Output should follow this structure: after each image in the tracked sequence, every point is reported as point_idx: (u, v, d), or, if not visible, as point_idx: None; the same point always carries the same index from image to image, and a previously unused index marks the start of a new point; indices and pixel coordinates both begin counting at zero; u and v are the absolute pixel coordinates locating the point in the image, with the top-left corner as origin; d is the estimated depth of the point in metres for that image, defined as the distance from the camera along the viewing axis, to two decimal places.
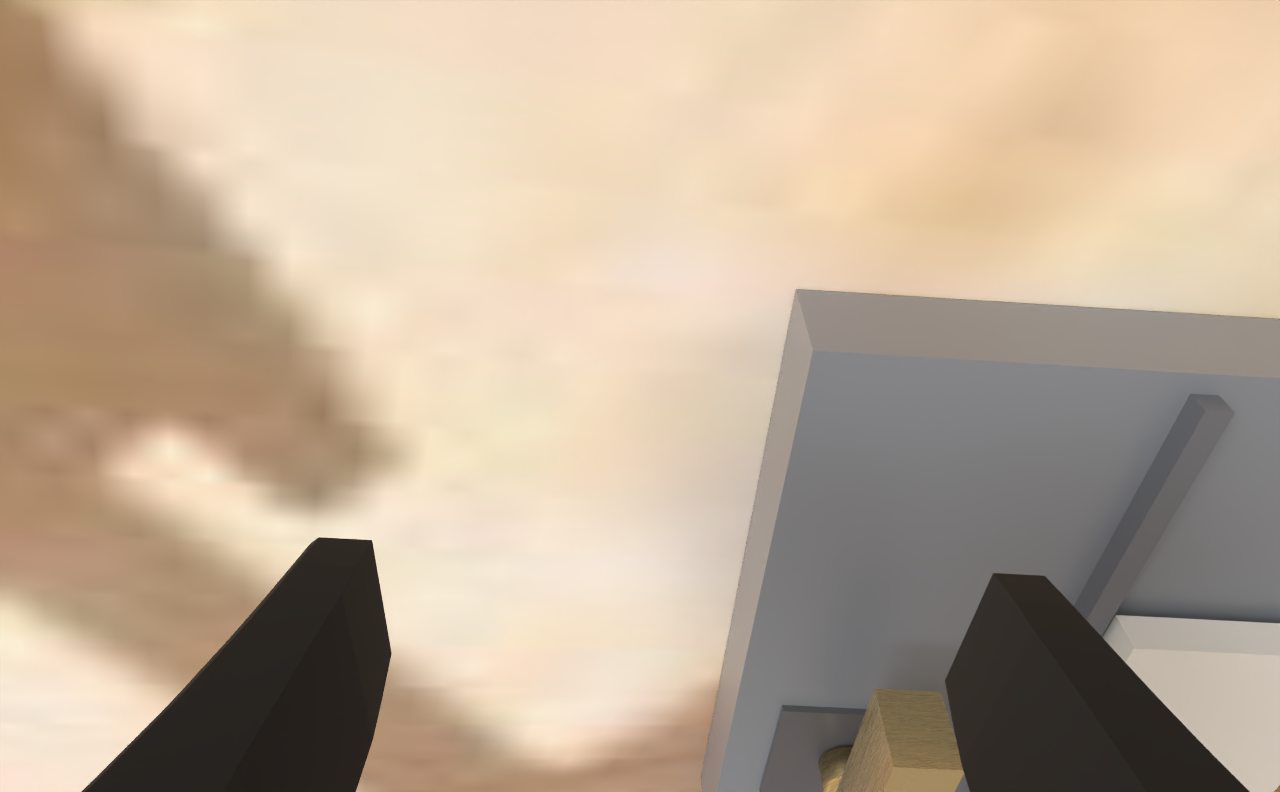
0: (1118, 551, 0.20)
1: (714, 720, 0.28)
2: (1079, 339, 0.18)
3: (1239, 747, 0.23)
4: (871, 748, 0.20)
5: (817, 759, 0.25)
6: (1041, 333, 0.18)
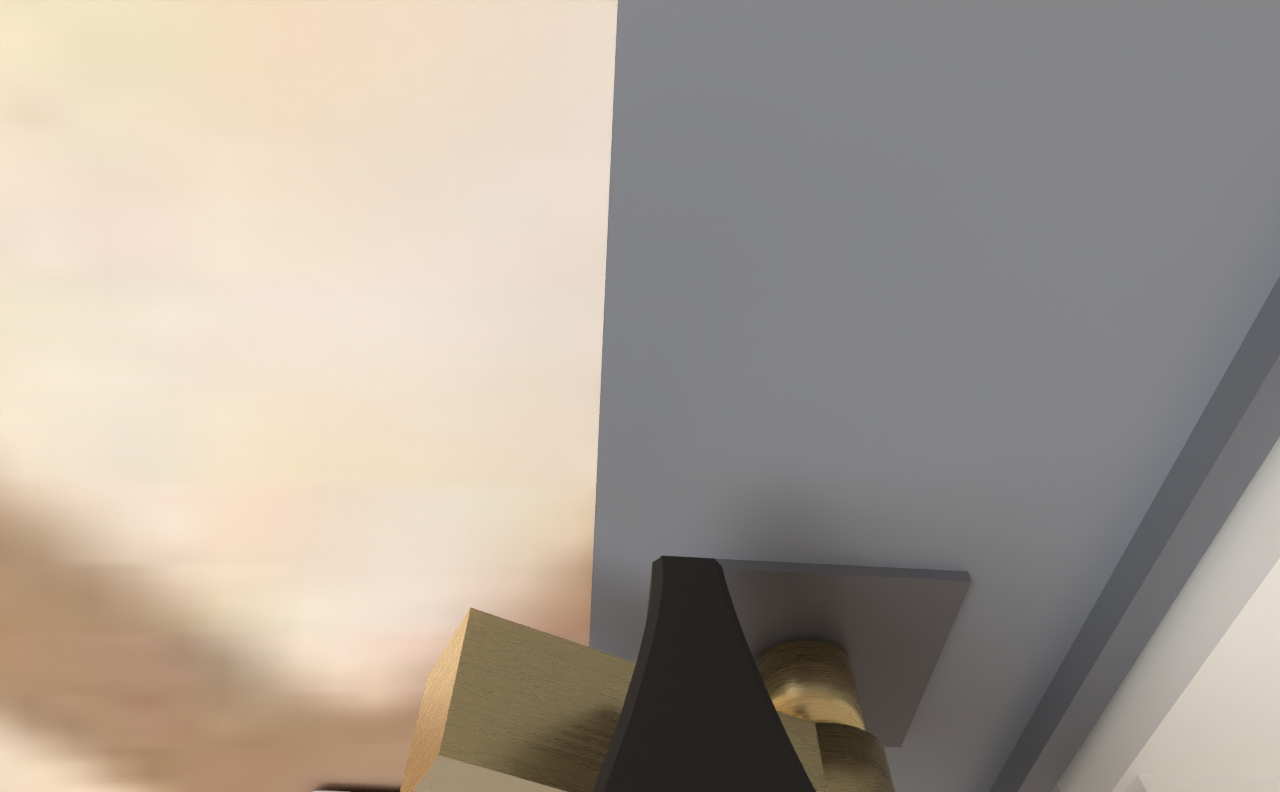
0: None
1: None
2: None
3: None
4: None
5: None
6: None
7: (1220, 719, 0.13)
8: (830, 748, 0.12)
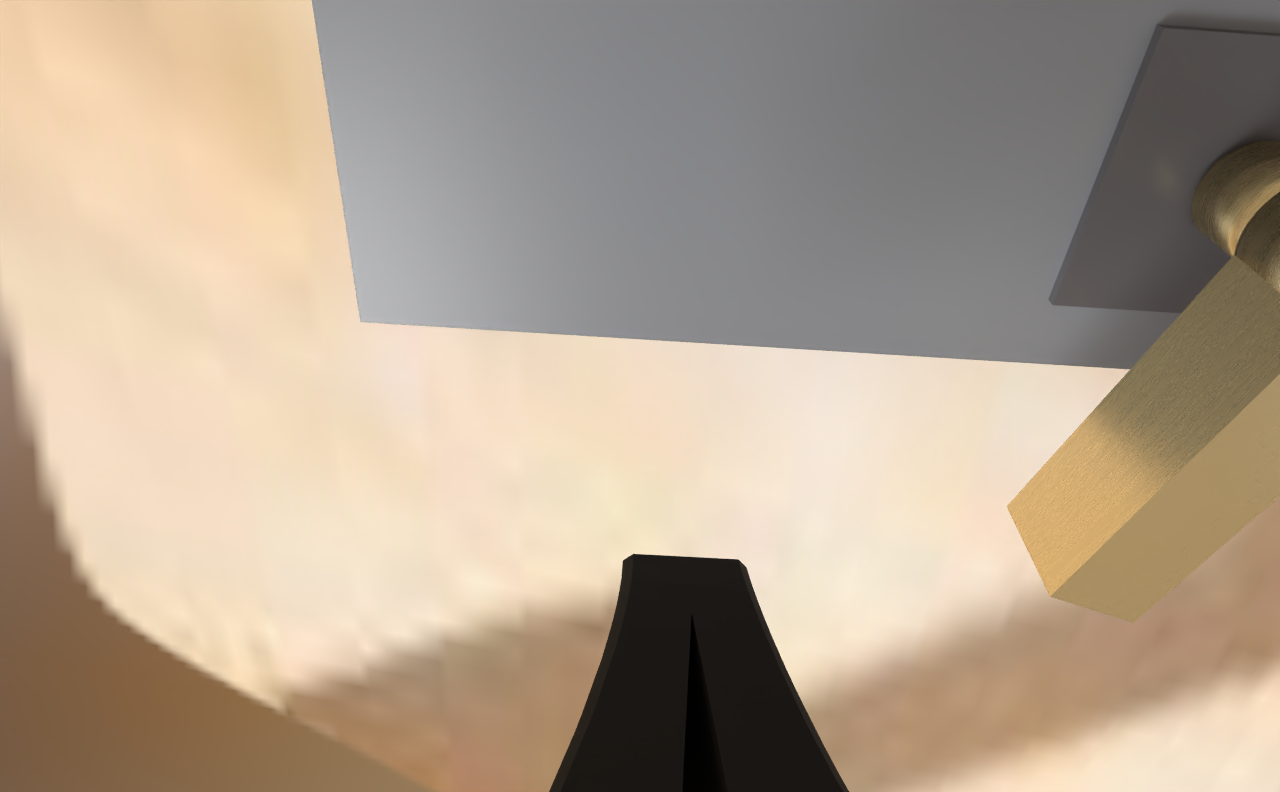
0: None
1: None
2: None
3: None
4: None
5: None
6: None
7: None
8: (1254, 256, 0.11)
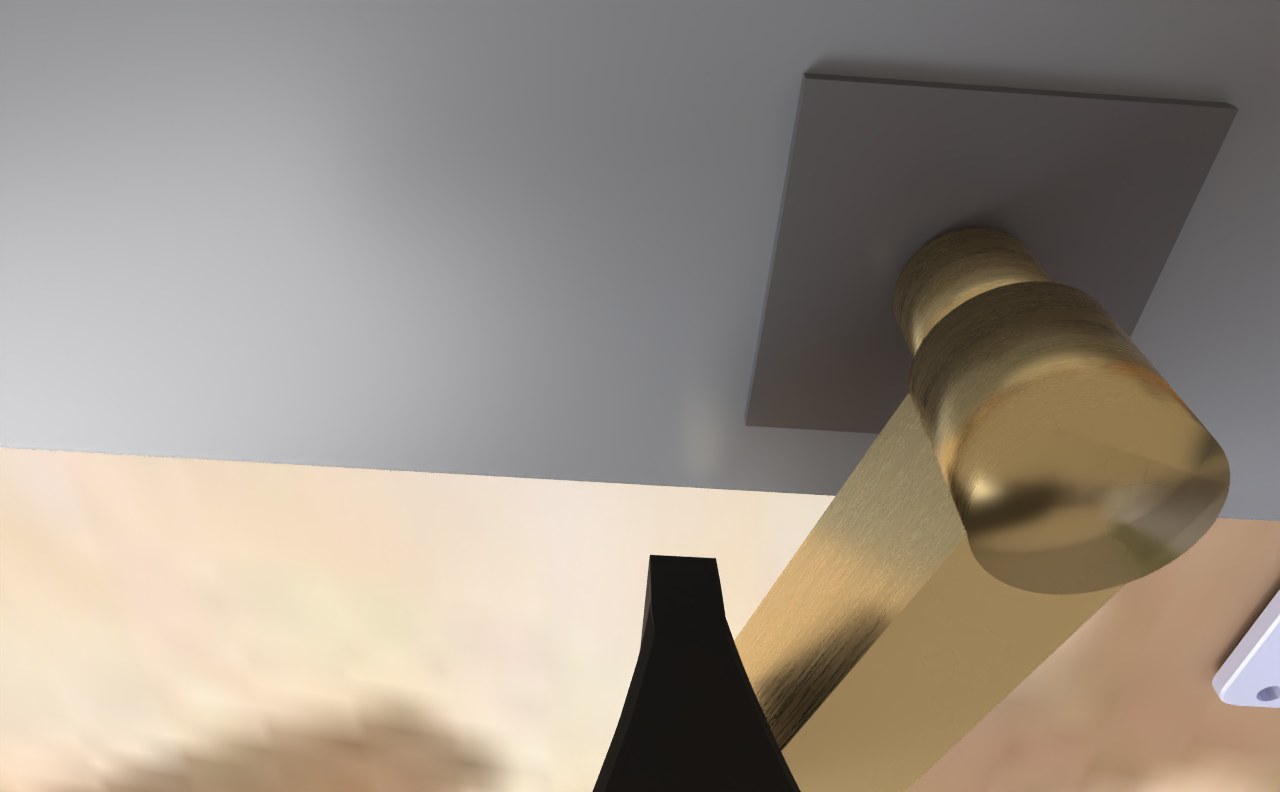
0: None
1: None
2: None
3: None
4: None
5: None
6: None
7: None
8: (920, 402, 0.08)
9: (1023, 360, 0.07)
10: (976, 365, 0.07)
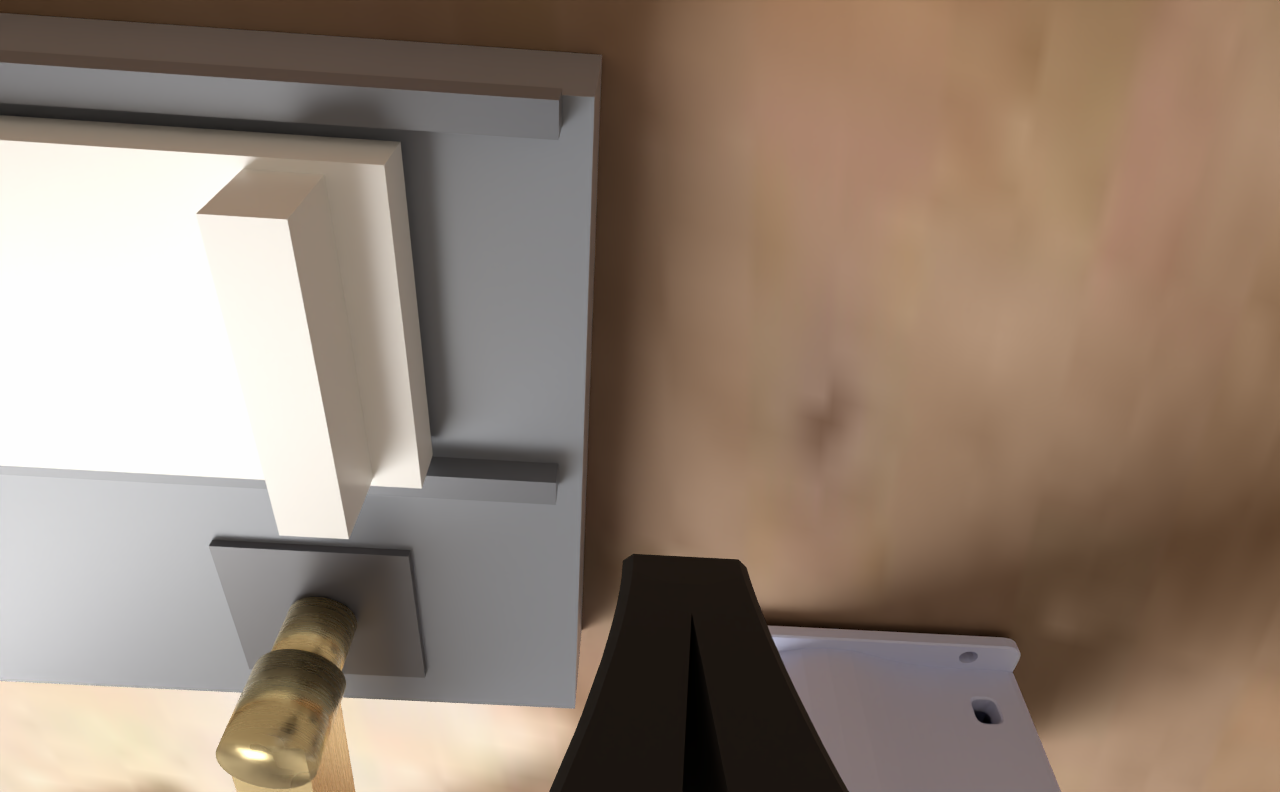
0: None
1: None
2: None
3: (5, 260, 0.14)
4: None
5: None
6: None
7: (219, 443, 0.16)
8: None
9: (239, 703, 0.18)
10: (238, 701, 0.18)
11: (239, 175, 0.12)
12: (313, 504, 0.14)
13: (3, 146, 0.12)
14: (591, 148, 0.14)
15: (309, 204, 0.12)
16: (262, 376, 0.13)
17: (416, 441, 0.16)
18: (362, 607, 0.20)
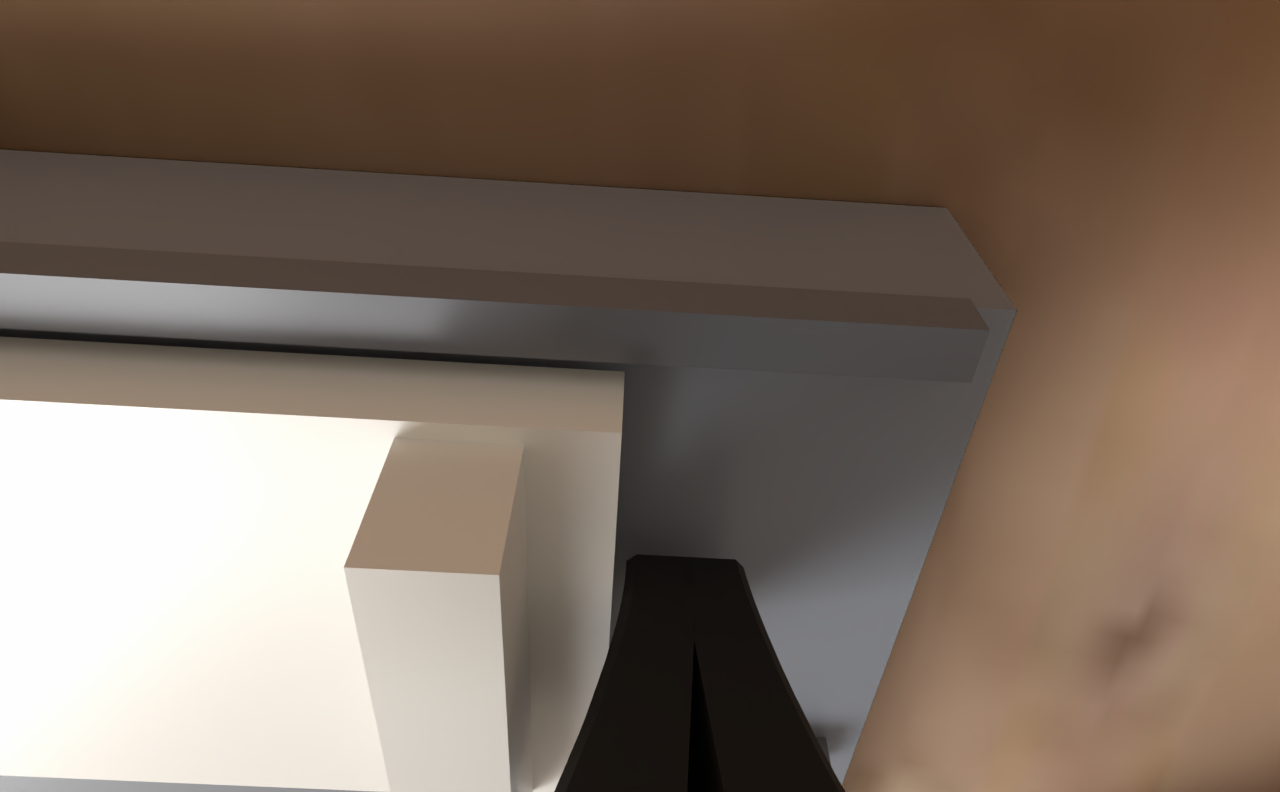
0: None
1: None
2: None
3: (16, 550, 0.09)
4: None
5: None
6: None
7: (319, 754, 0.11)
8: None
9: None
10: None
11: (393, 455, 0.08)
12: None
13: (12, 409, 0.08)
14: (989, 376, 0.09)
15: (513, 512, 0.07)
16: (422, 757, 0.08)
17: None
18: None
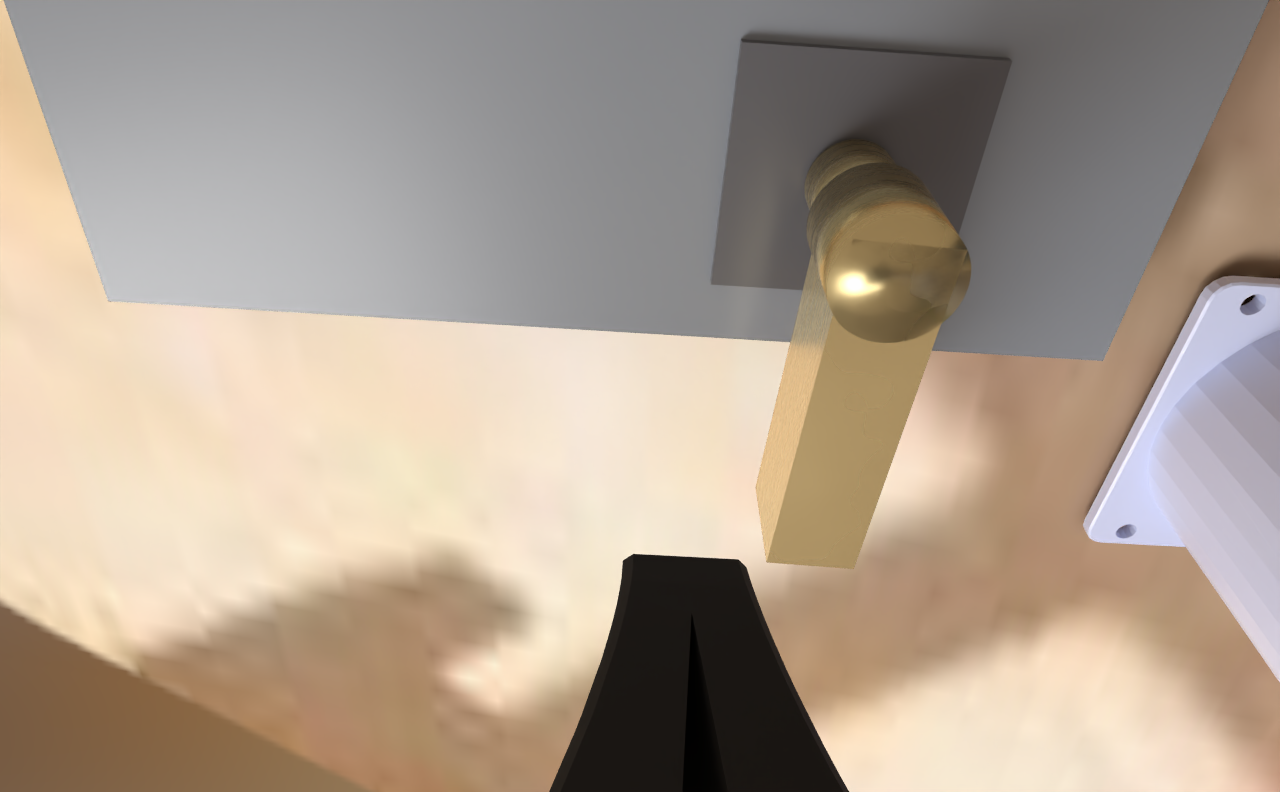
0: None
1: None
2: None
3: None
4: None
5: None
6: None
7: None
8: (813, 254, 0.14)
9: (844, 210, 0.12)
10: (824, 222, 0.13)
11: None
12: None
13: None
14: None
15: None
16: None
17: None
18: (907, 164, 0.15)
